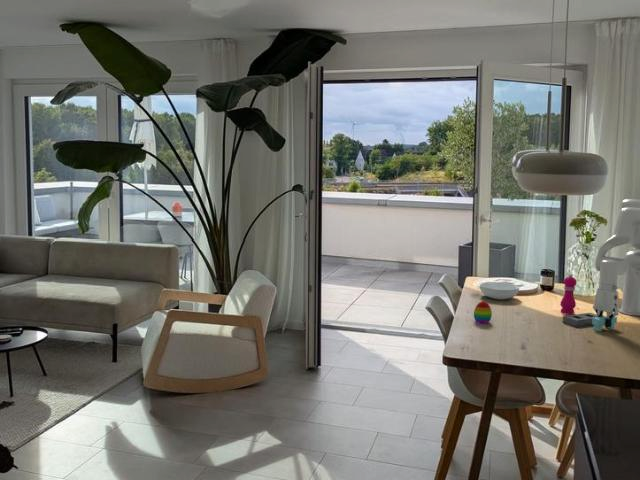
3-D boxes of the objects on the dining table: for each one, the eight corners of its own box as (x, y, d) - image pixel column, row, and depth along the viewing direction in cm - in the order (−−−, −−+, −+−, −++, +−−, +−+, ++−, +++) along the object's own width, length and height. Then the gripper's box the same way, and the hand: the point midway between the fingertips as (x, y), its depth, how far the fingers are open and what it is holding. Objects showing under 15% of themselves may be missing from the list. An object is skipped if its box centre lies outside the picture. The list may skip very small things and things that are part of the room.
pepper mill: (576, 315, 326) (579, 275, 323) (560, 314, 328) (564, 274, 325) (573, 311, 333) (577, 273, 330) (558, 310, 335) (561, 272, 332)
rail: (589, 318, 321) (589, 312, 320) (602, 322, 314) (603, 316, 313) (562, 322, 313) (563, 316, 312) (575, 326, 306) (576, 320, 305)
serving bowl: (525, 298, 360) (526, 286, 359) (506, 304, 345) (507, 291, 344) (491, 291, 374) (491, 279, 373) (471, 297, 359) (472, 285, 358)
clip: (609, 326, 307) (610, 315, 306) (615, 328, 304) (617, 317, 303) (591, 329, 302) (592, 317, 301) (597, 331, 299) (598, 319, 298)
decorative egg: (491, 320, 313) (492, 300, 311) (491, 325, 305) (492, 304, 304) (473, 319, 315) (474, 298, 314) (473, 323, 307) (474, 302, 306)
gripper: (628, 290, 294) (624, 329, 297) (598, 282, 309) (595, 320, 312) (617, 291, 291) (613, 331, 294) (587, 283, 305) (583, 321, 308)
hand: (604, 325), depth 303 cm, fingers closed on clip, 3 cm apart
